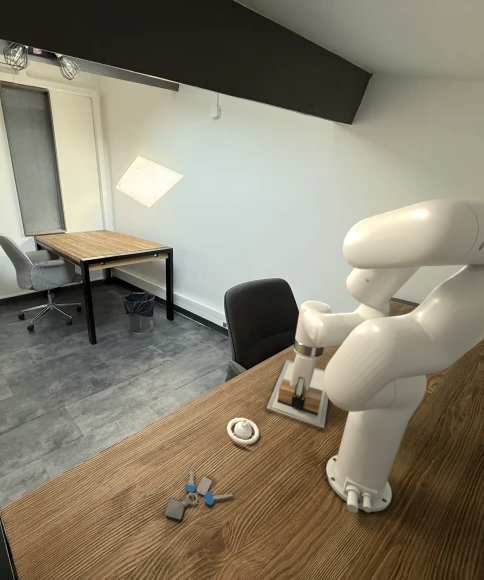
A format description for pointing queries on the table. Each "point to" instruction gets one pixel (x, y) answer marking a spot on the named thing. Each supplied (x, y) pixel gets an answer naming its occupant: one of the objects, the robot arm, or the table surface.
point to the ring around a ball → (243, 431)
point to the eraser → (310, 396)
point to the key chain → (177, 507)
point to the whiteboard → (296, 413)
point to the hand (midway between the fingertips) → (298, 401)
